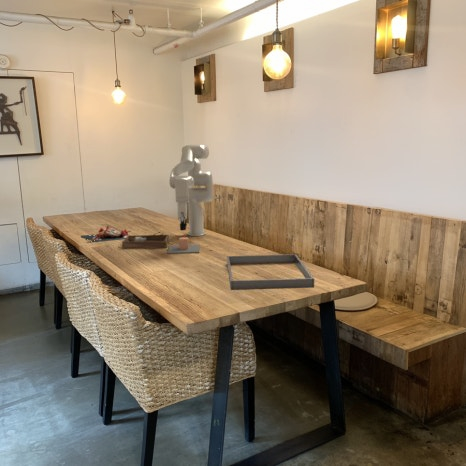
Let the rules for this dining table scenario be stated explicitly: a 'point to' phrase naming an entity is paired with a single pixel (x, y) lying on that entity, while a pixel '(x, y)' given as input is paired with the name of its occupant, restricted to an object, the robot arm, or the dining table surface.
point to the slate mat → (175, 249)
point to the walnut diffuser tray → (146, 242)
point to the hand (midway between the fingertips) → (183, 228)
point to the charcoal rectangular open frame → (269, 283)
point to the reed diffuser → (144, 238)
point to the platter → (107, 235)
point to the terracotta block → (183, 243)
